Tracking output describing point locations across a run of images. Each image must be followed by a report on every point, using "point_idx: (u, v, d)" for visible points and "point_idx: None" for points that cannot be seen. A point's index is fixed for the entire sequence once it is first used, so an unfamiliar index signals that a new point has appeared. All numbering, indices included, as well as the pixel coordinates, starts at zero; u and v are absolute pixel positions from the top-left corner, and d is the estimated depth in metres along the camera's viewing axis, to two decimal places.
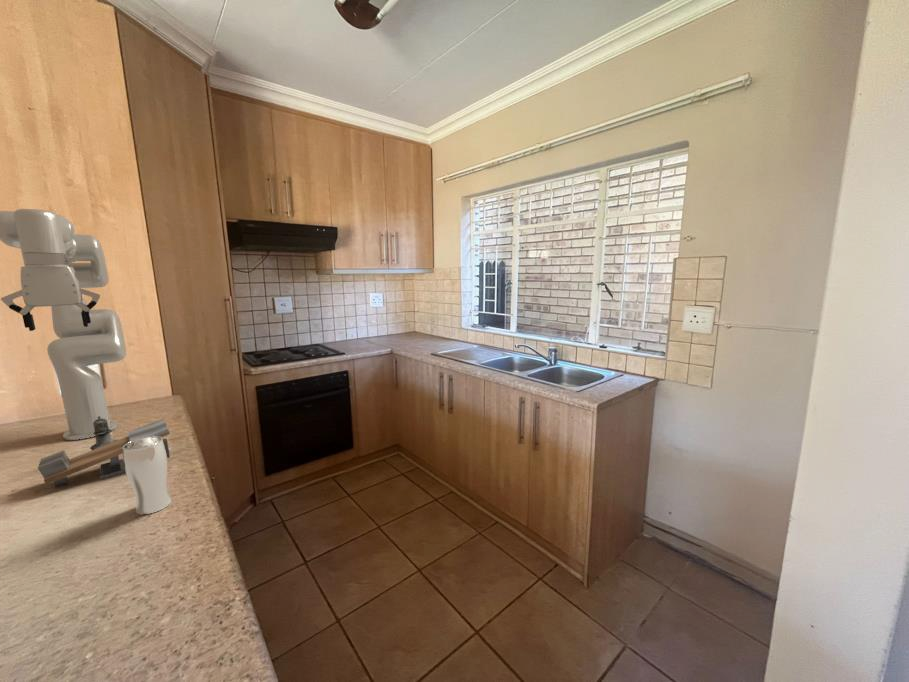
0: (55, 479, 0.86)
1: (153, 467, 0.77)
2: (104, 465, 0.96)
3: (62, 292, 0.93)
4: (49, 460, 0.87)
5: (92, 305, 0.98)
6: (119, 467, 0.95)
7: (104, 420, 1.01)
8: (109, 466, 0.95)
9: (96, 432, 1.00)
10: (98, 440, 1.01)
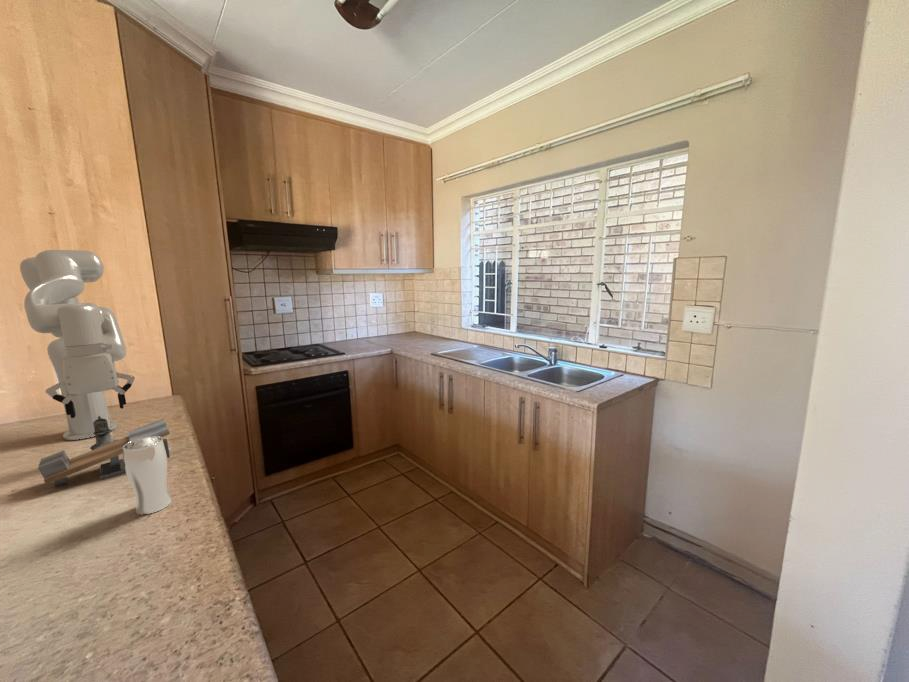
0: (55, 479, 0.86)
1: (153, 467, 0.77)
2: (104, 465, 0.96)
3: (101, 379, 0.98)
4: (49, 460, 0.87)
5: (128, 387, 1.03)
6: (119, 467, 0.95)
7: (104, 420, 1.01)
8: (109, 466, 0.95)
9: (96, 432, 1.00)
10: (98, 440, 1.01)
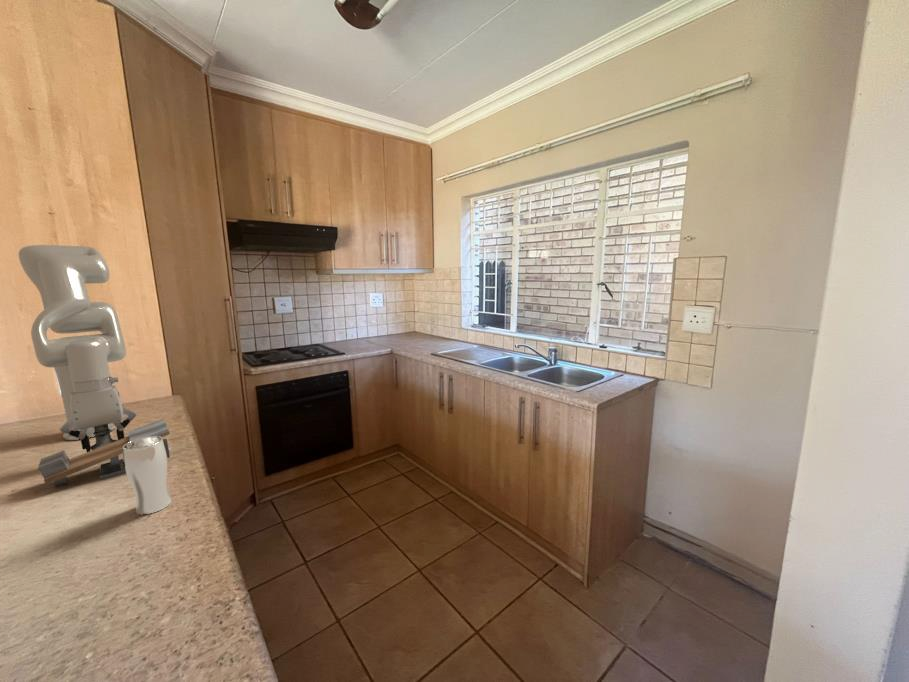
0: (55, 479, 0.86)
1: (153, 467, 0.77)
2: (104, 465, 0.96)
3: (107, 412, 1.00)
4: (49, 460, 0.87)
5: (126, 423, 1.05)
6: (119, 467, 0.95)
7: None
8: (109, 466, 0.95)
9: (96, 432, 1.00)
10: (98, 440, 1.01)
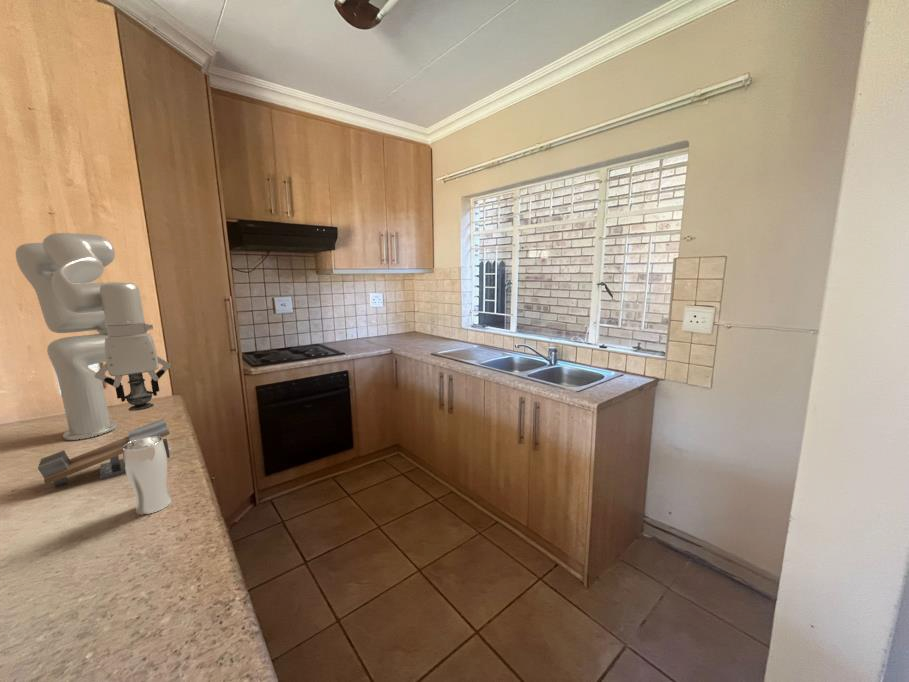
0: (55, 479, 0.86)
1: (153, 467, 0.77)
2: (104, 465, 0.96)
3: (142, 360, 0.96)
4: (49, 460, 0.87)
5: (161, 374, 1.00)
6: (119, 467, 0.95)
7: None
8: (109, 466, 0.95)
9: (131, 381, 0.96)
10: (133, 389, 0.96)
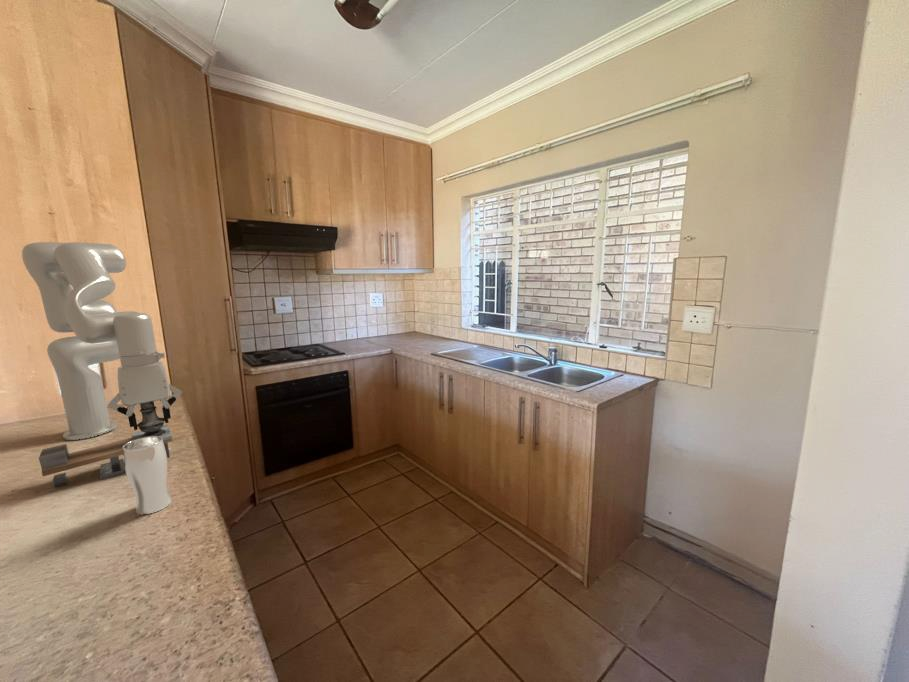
0: (52, 472, 0.85)
1: (153, 467, 0.77)
2: (104, 465, 0.96)
3: (154, 389, 0.97)
4: (51, 451, 0.87)
5: (172, 401, 1.01)
6: (119, 467, 0.95)
7: None
8: (109, 466, 0.95)
9: (143, 409, 0.97)
10: (145, 417, 0.97)
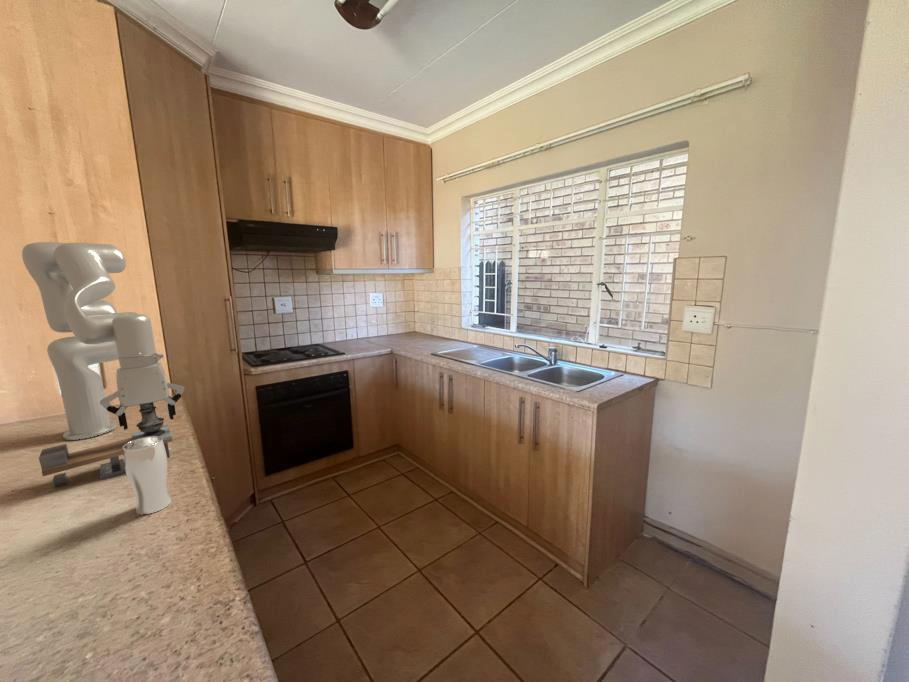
0: (52, 472, 0.85)
1: (153, 467, 0.77)
2: (104, 465, 0.96)
3: (153, 390, 0.97)
4: (51, 451, 0.87)
5: (177, 398, 1.02)
6: (119, 467, 0.95)
7: None
8: (109, 466, 0.95)
9: (142, 409, 0.97)
10: (144, 417, 0.97)
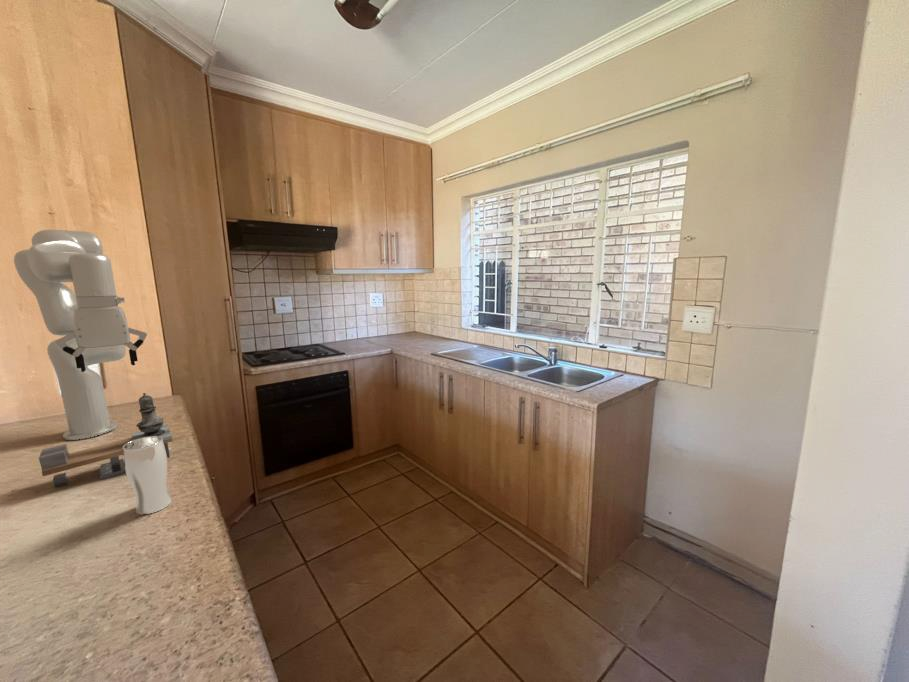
0: (52, 472, 0.85)
1: (153, 467, 0.77)
2: (104, 465, 0.96)
3: (113, 333, 0.95)
4: (51, 451, 0.87)
5: (139, 344, 1.00)
6: (119, 467, 0.95)
7: (150, 397, 0.98)
8: (109, 466, 0.95)
9: (142, 409, 0.97)
10: (144, 417, 0.97)
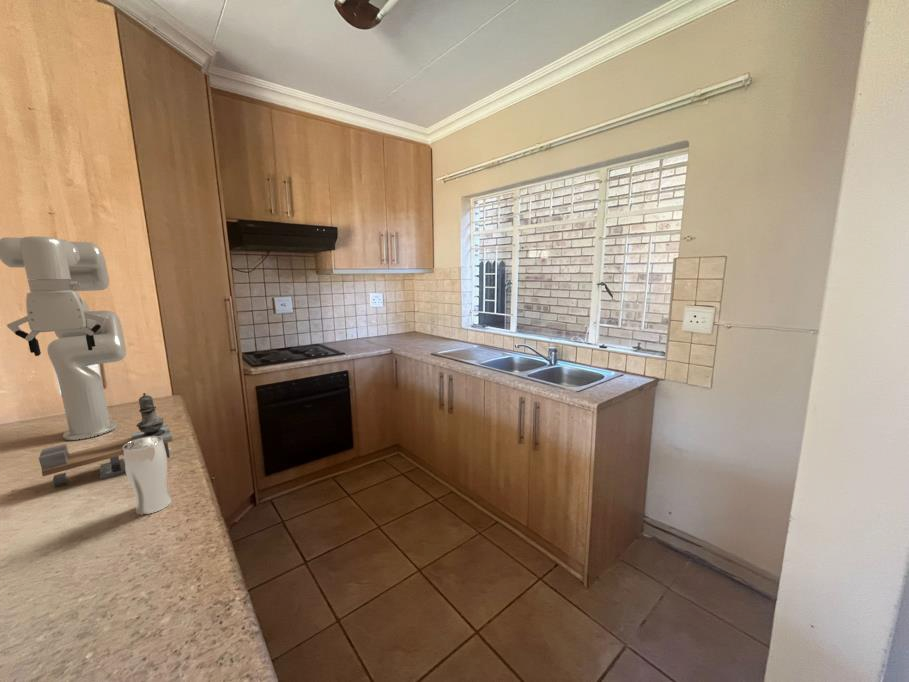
0: (52, 472, 0.85)
1: (153, 467, 0.77)
2: (104, 465, 0.96)
3: (67, 317, 0.94)
4: (51, 451, 0.87)
5: (96, 329, 0.99)
6: (119, 467, 0.95)
7: (150, 397, 0.98)
8: (109, 466, 0.95)
9: (142, 409, 0.97)
10: (144, 417, 0.97)
